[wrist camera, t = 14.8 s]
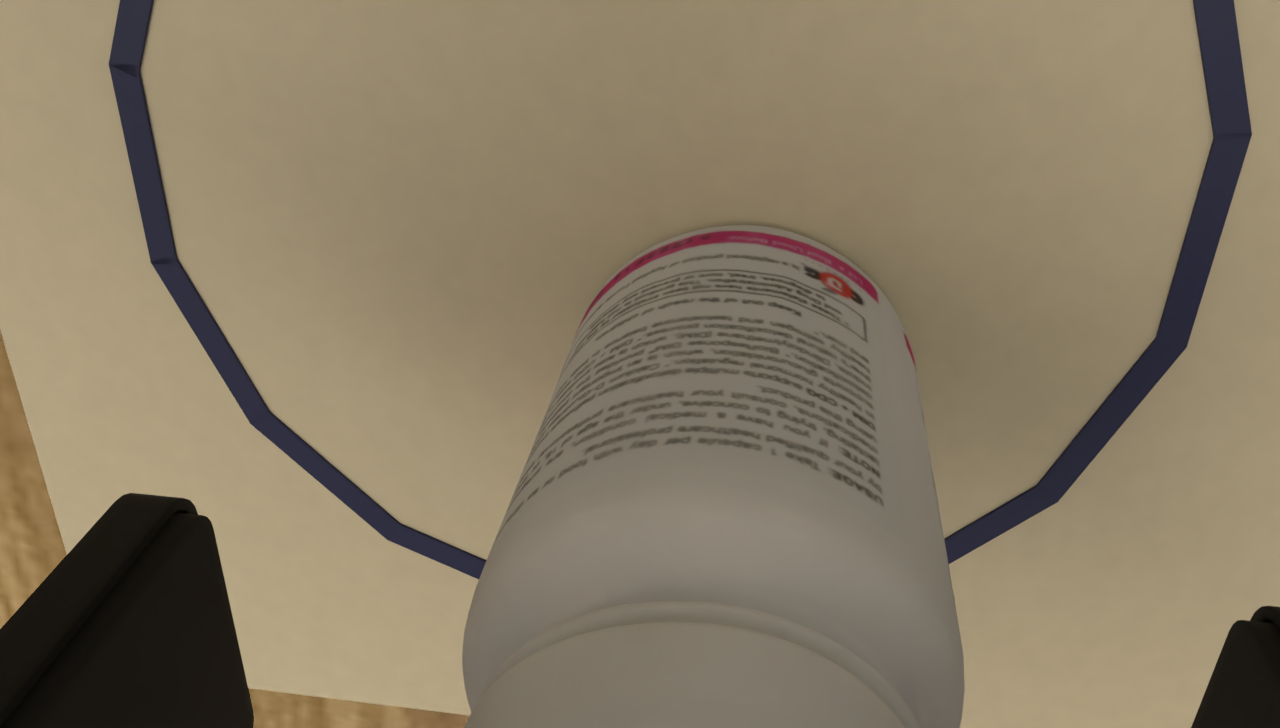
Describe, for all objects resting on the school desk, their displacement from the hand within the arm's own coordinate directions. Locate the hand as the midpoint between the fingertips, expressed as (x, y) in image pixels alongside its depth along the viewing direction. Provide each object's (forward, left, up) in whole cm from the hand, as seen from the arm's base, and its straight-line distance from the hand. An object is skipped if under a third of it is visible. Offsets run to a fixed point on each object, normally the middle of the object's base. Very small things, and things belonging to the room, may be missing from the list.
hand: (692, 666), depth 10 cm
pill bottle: (0, 0, -6) cm, 6 cm away
